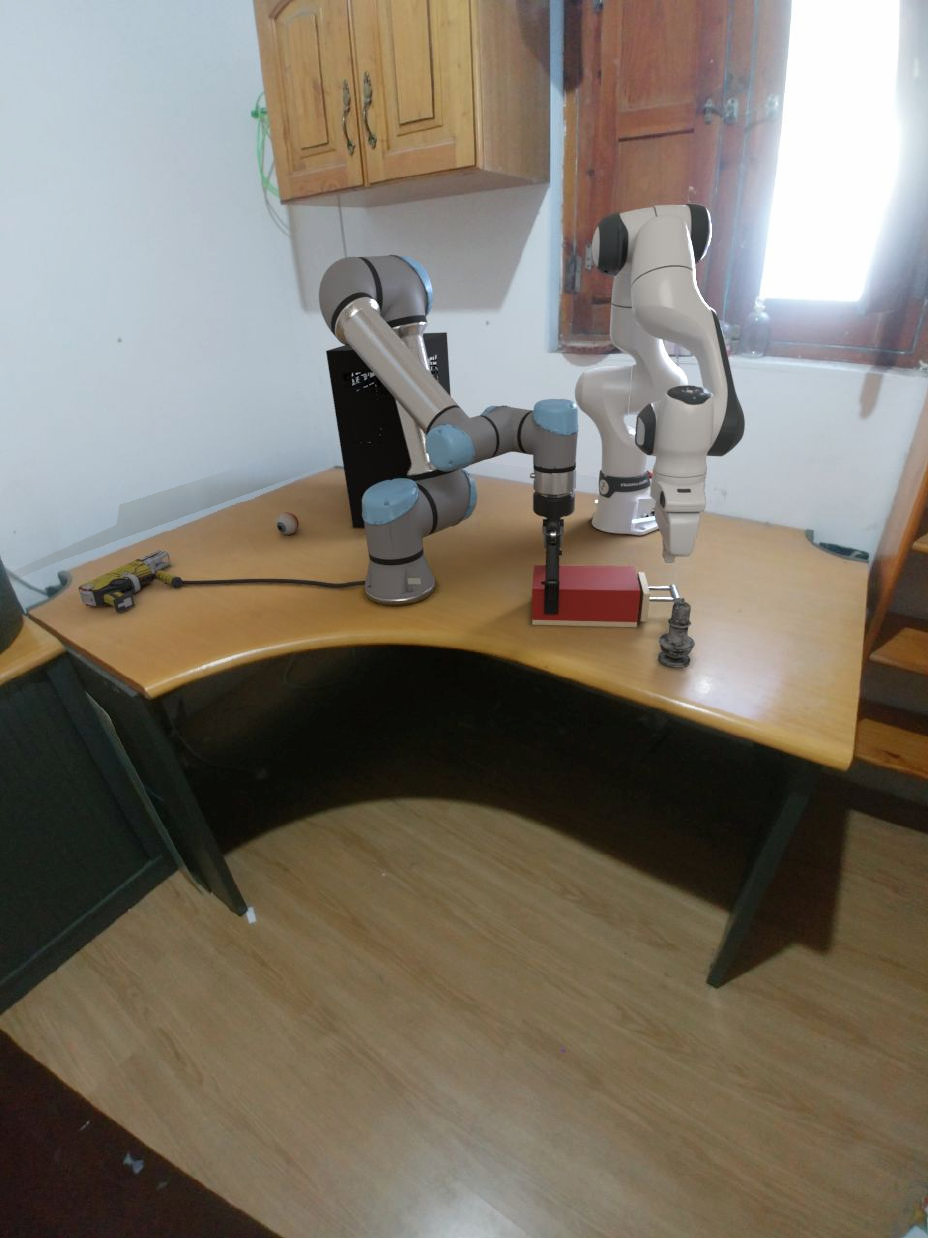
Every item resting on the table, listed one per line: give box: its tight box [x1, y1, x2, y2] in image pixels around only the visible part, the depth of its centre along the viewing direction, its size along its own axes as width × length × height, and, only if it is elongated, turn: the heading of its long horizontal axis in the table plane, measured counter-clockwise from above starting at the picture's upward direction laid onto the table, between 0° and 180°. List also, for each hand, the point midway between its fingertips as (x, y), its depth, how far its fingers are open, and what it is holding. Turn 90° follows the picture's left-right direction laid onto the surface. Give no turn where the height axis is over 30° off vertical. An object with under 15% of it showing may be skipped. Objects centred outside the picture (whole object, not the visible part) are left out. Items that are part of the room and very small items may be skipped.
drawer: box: [637, 571, 682, 623], centre depth 117 cm, size 25×9×6 cm, turn 82°
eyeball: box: [275, 511, 300, 536], centre depth 163 cm, size 6×6×6 cm
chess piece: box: [657, 597, 696, 668], centre depth 101 cm, size 6×6×12 cm
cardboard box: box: [325, 331, 452, 529], centre depth 169 cm, size 38×20×45 cm, turn 167°
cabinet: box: [531, 564, 640, 628], centre depth 118 cm, size 20×10×8 cm, turn 82°
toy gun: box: [78, 549, 183, 614], centre depth 138 cm, size 5×24×15 cm
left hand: (551, 599), depth 119 cm, fingers closed on cabinet, 10 cm apart
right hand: (668, 559), depth 112 cm, fingers closed
